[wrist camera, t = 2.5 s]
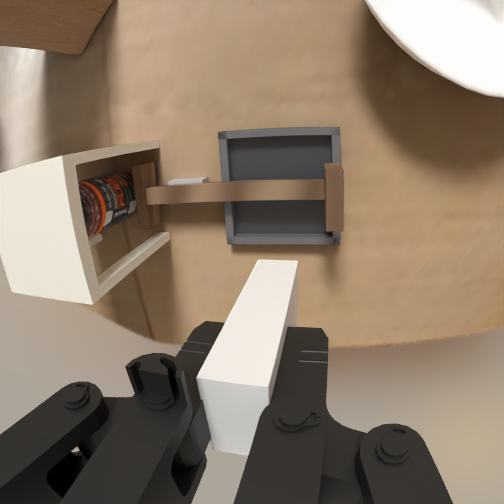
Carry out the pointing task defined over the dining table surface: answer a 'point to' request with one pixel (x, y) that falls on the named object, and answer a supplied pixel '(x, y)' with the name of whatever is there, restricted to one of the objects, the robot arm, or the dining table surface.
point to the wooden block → (50, 23)
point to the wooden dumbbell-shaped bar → (239, 193)
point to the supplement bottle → (106, 201)
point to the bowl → (450, 38)
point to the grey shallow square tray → (278, 168)
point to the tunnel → (61, 230)
